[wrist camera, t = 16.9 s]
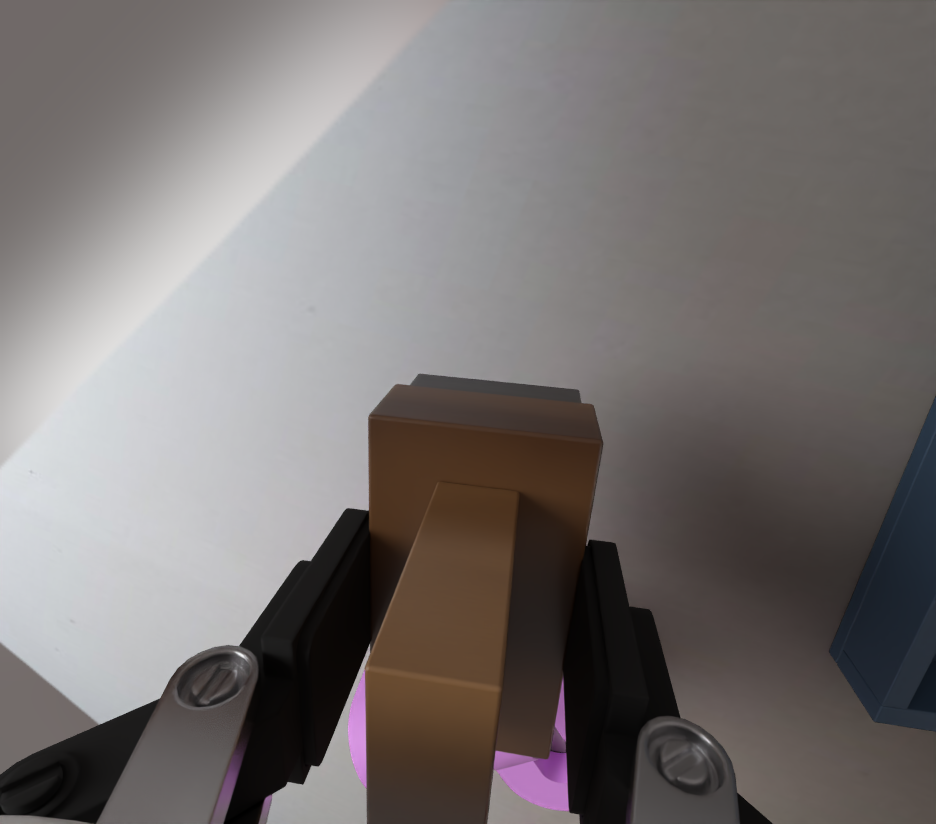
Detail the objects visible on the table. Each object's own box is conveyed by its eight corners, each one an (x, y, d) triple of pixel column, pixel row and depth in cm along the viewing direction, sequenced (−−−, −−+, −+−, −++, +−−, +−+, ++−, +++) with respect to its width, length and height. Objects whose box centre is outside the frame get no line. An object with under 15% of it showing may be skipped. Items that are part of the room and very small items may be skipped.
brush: (410, 364, 13) (236, 564, 6) (589, 382, 13) (652, 623, 5) (404, 626, 16) (286, 977, 9) (548, 648, 16) (551, 1037, 8)
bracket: (393, 596, 23) (333, 749, 16) (506, 550, 21) (489, 700, 15) (534, 790, 26) (531, 983, 19) (641, 764, 24) (677, 965, 18)
